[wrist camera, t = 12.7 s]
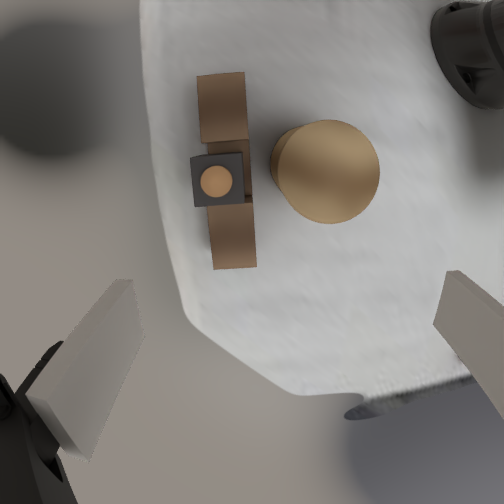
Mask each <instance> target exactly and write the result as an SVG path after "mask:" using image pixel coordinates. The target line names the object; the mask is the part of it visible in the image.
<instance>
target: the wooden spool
mask: <svg viewBox="0 0 504 504" xmlns="http://www.w3.org/2000/svg"><path fill="white" fill-rule="evenodd" d="M270 167H271V173H272V176H273V179H274V181H275V183H276V184H277V186H278V187H279V189H280V190H281V191H282V193H283V194H284V196H285V198H286V200H287V201H288V202H289V204H290V205H291V206H292V207H293V208H294V209H295V210H296V211H297V212H298V213H299V214H301V215H302V216H304V217H305V218H307V219H309V220H312V221H315V222H318V223H324V224H335V223H341V222H345V221H347V220H350V219H352V218H354V217H355V216H357V215H358V214H360V213H361V212H362V211H363V210H364V209H365V208H366V207H367V206H368V205H369V203H370V202H371V200H372V199H373V197H374V195H375V193H376V190H377V187H378V183H379V176H380V168H379V161H378V157H377V154H376V152H375V149H374V147H373V146H372V144H371V142H370V141H369V140H368V138H367V137H366V136H365V135H364V134H363V133H362V132H361V131H359V130H358V129H357V128H355V127H353V126H351V125H350V124H347V123H345V122H341V121H337V120H321V121H316V122H313V123H310V124H307V125H305V126H300V127H297V128H294V129H292V130H290V131H288V132H287V133H285V134H284V135H283V136H282V137H281V138H280V139H279V140H278V141H277V143H276V144H275V146H274V148H273V151H272V154H271V160H270Z"/></svg>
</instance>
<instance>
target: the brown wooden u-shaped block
mask: <svg viewBox="0 0 504 504" xmlns="http://www.w3.org/2000/svg"><path fill="white" fill-rule="evenodd" d="M197 89H198V105H199V120H200V134H201V143H208V154H218V153H231V152H243V166H244V181H245V201H244V204H230V205H216V206H207V214H208V223H209V233H210V242H211V251H212V260H213V268H214V270H216V269H234V268H250V267H257V262H256V245H255V229H254V213H253V197H252V182H251V166H250V151H249V135H248V120H247V105H246V90H245V75H244V72H235V73H223V74H213V75H204V76H197Z"/></svg>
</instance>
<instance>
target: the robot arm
mask: <svg viewBox="0 0 504 504" xmlns="http://www.w3.org/2000/svg"><path fill="white" fill-rule="evenodd" d="M431 38H432V44H433V48H434V51H435V54H436V57H437V60H438V62H439V64H440V66H441V68H442V70H443V72H444V74H445V76H446V77H447V79H448V80H449V82H450V83H451V84H452V86H453V87H454V88H455V89H456V91H457V92H458V93H459V94H460V95H461V96H462V97H463V98H464V99H466V100H467V101H468V102H470V103H471V104H473V105H474V106H476V107H479V108H482V109H502V108H504V0H492V1H489V2H453V3H450V4H448V5H446V6H444V7H442V8H441V9H439V10H438V11H437V12H436V14H435V15H434V17H433V20H432V24H431ZM433 325H434V327H435V328H436V329H437V330H438V331H439V333H440V334H441V335H442V336H443V338H444V339H445V340H446V341H447V343H448V344H449V345H450V346H451V348H452V349H453V350H454V351H455V353H456V354H457V355H458V357H459V358H460V359H461V360H462V362H463V363H464V364H465V366H466V367H467V368H468V370H469V371H470V372H471V374H472V375H473V376H474V378H475V379H476V381H477V382H478V383H479V385H480V386H481V387H482V389H483V390H484V391H485V393H486V394H487V396H488V397H489V399H490V400H491V401H492V403H493V404H494V406H495V408H496V409H497V411H498V412H499V413H500V415H501V416H502V418H503V419H504V306H502V305H501V304H500V303H499V302H498V301H497V300H495V299H494V298H493V297H492V296H491V295H489V294H488V293H487V292H486V291H485V290H483V289H482V288H481V287H480V286H478V285H477V284H476V283H475V282H473V281H472V280H471V279H470V278H468V277H467V276H466V275H464V274H463V273H462V272H461V271H459V270H457V271H447V272H446V277H445V281H444V285H443V290H442V294H441V297H440V301H439V305H438V309H437V312H436V316H435V319H434V322H433ZM144 338H145V334H144V329H143V325H142V321H141V317H140V312H139V308H138V303H137V298H136V294H135V289H134V284H133V280H124V279H123V280H122V279H119V280H117V279H116V280H115V281H114V282H113V283H112V285H111V286H110V287H109V288H108V289H107V290H106V291H105V293H104V294H103V295H102V296H101V297H100V298H99V300H98V301H97V302H96V303H95V304H94V305H93V307H92V308H91V309H90V310H89V311H88V313H87V314H86V315H85V316H84V317H83V319H82V320H81V321H80V322H79V324H78V325H77V326H76V327H75V328H74V330H73V331H72V332H71V333H70V335H69V336H68V337H67V339H66V340H65V341H59V342H57V343H56V344H55V345H53V346H52V347H50V348H49V349H48V350H47V352H46V353H45V354H44V355H43V356H42V358H41V360H40V361H39V362H38V363H37V364H36V366H35V368H33V370H32V371H31V372H30V373H29V375H28V376H27V377H26V379H25V380H24V381H23V383H22V384H21V385H20V387H19V388H18V390H17V391H16V392H15V394H14V392H13V391H12V389H11V387H10V386H9V384H8V382H7V380H6V379H5V377H4V376H3V375H2V374H0V504H78V503H77V501H76V498H75V496H74V494H73V491H72V489H71V486H70V484H69V481H68V479H67V476H66V473H65V471H64V468H63V465H62V462H61V460H60V458H59V456H58V454H57V451H58V449H59V447H60V446H61V447H62V449H63V450H64V451H65V452H66V454H67V455H68V456H70V457H73V458H76V459H79V460H82V461H86V462H90V459H91V457H92V454H93V452H94V449H95V447H96V444H97V442H98V440H99V437H100V435H101V433H102V430H103V428H104V425H105V423H106V421H107V418H108V416H109V414H110V411H111V409H112V407H113V404H114V402H115V400H116V398H117V396H118V393H119V391H120V389H121V387H122V385H123V383H124V380H125V378H126V376H127V374H128V372H129V370H130V367H131V365H132V363H133V361H134V359H135V357H136V355H137V352H138V351H139V349H140V346H141V344H142V342H143V340H144Z"/></svg>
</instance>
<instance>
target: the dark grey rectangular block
mask: <svg viewBox="0 0 504 504" xmlns="http://www.w3.org/2000/svg"><path fill="white" fill-rule="evenodd" d="M190 163H191V175H192V185H193V196H194V205H195V207H203V206H216V205H230V204H244V201H245V181H244V166H243V152H231V153H218V154H207V155H200V156H196V157H192V158H190Z"/></svg>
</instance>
